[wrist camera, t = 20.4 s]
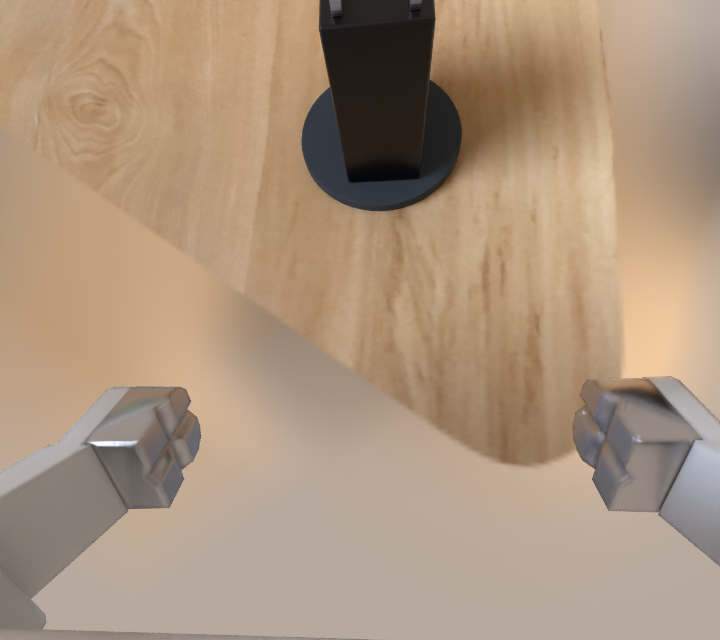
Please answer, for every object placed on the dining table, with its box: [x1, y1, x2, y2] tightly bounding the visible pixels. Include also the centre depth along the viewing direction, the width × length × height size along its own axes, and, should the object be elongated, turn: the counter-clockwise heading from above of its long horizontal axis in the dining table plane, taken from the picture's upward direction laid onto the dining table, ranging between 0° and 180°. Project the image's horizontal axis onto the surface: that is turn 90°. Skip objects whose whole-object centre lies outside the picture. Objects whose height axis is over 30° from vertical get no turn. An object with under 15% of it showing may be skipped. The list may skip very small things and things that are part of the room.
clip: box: [319, 0, 436, 183], centre depth 14 cm, size 5×3×9 cm, turn 0°
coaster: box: [302, 80, 462, 211], centre depth 18 cm, size 7×7×1 cm
